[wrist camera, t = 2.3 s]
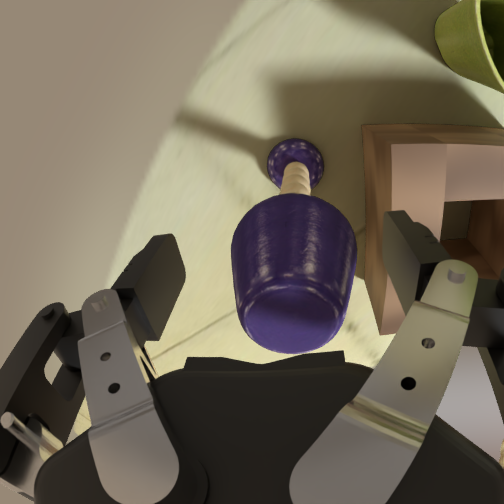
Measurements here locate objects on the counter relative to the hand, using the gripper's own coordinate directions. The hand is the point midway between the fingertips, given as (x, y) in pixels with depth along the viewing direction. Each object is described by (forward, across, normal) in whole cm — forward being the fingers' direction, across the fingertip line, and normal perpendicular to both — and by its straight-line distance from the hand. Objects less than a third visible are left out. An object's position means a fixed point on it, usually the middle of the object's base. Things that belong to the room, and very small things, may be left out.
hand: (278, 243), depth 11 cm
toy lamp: (+13, -1, 0) cm, 13 cm away
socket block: (+13, -13, +5) cm, 19 cm away
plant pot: (+13, -16, -9) cm, 23 cm away
